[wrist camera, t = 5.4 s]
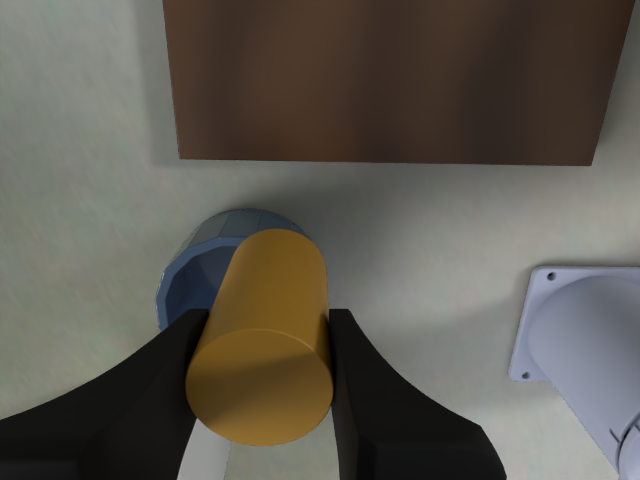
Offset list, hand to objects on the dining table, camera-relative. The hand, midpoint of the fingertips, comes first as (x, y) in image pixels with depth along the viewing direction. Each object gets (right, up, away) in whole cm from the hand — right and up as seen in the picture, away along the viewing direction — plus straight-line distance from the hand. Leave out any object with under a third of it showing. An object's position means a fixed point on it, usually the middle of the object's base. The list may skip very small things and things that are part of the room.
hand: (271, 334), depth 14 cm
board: (+5, +13, +6) cm, 15 cm away
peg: (0, +2, +4) cm, 4 cm away
